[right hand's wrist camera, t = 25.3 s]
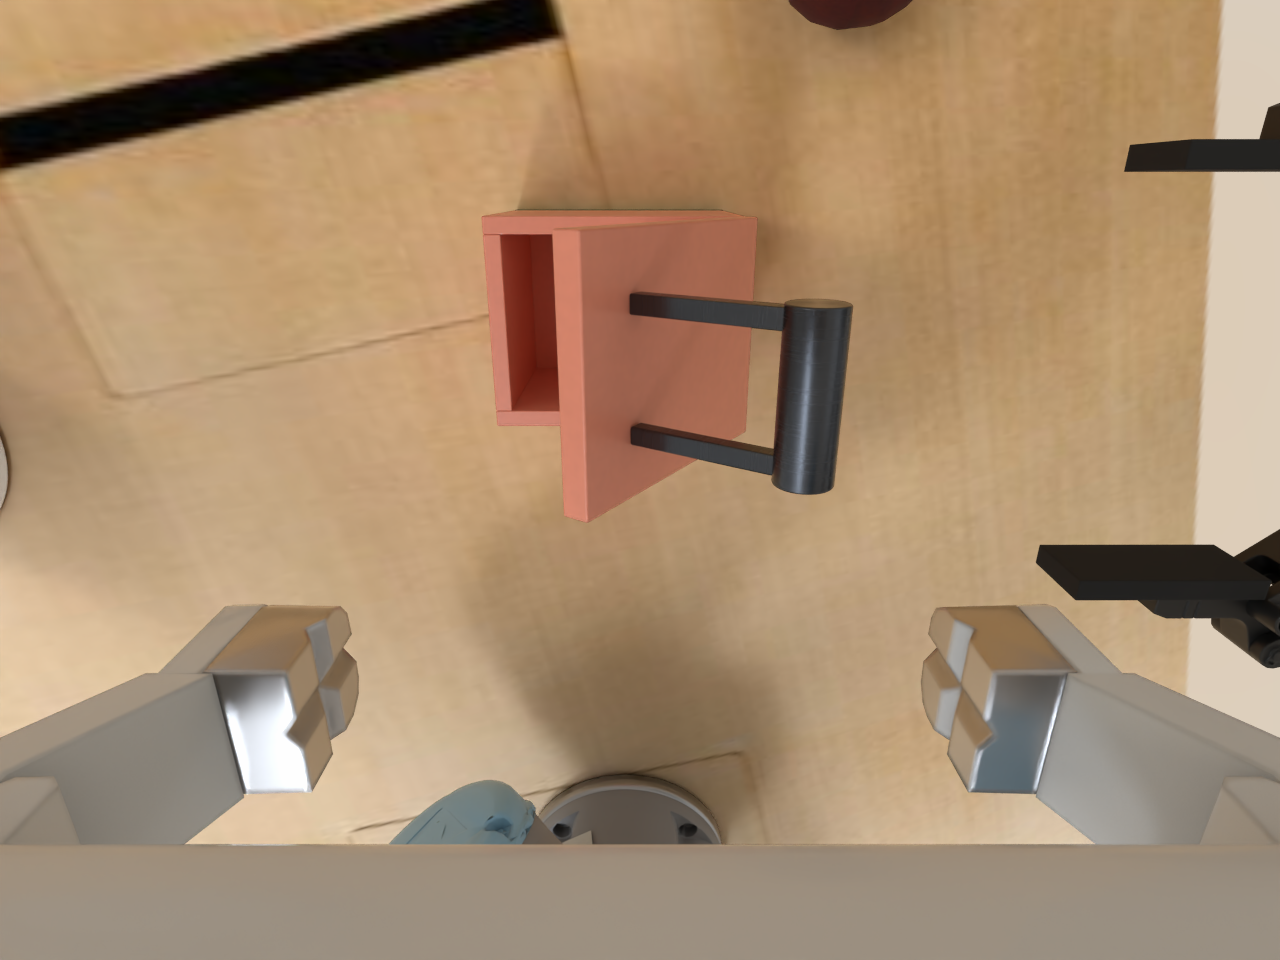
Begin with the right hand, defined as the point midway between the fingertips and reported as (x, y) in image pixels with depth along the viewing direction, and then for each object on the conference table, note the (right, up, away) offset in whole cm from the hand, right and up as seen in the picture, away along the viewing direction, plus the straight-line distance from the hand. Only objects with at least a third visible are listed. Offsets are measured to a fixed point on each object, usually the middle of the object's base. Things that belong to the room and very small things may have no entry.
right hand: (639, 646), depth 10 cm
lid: (+1, +7, +18) cm, 20 cm away
